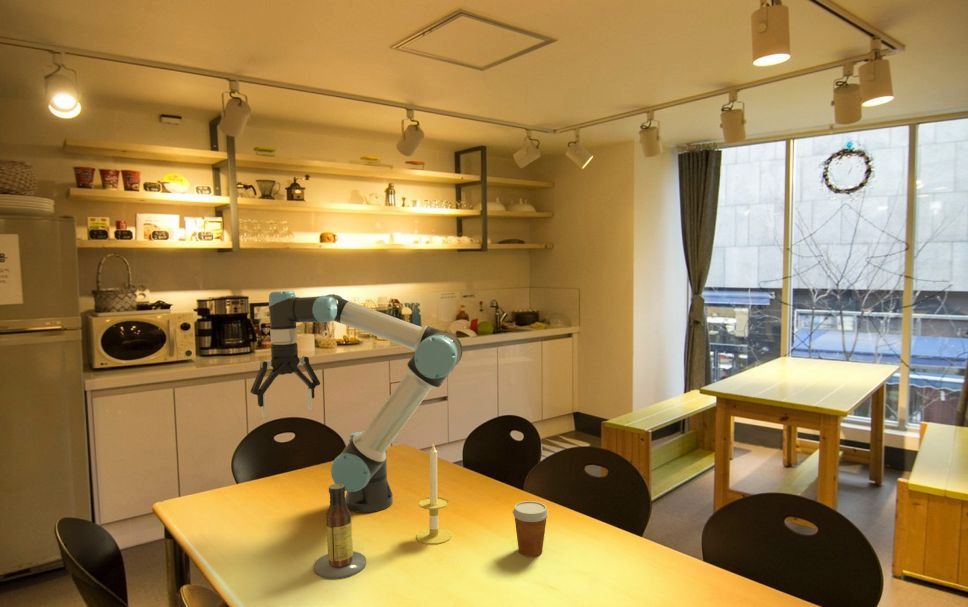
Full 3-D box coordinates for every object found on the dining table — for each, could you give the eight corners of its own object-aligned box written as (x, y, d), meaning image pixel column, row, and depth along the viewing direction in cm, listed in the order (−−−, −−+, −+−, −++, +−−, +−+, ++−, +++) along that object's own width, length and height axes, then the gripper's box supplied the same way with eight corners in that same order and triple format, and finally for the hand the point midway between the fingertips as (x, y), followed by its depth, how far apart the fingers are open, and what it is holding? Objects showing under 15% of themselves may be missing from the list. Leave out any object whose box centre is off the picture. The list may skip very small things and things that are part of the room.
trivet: (353, 549, 163) (353, 546, 163) (374, 568, 152) (374, 565, 152) (306, 563, 155) (305, 560, 155) (325, 584, 145) (325, 581, 145)
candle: (458, 533, 172) (457, 440, 171) (439, 547, 164) (438, 449, 162) (428, 526, 177) (428, 435, 176) (409, 539, 168) (408, 444, 167)
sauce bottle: (357, 558, 156) (356, 483, 154) (344, 570, 150) (343, 491, 149) (335, 555, 158) (334, 480, 157) (321, 566, 152) (320, 488, 151)
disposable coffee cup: (524, 562, 155) (524, 517, 154) (506, 547, 164) (506, 504, 163) (555, 554, 159) (555, 510, 159) (535, 540, 168) (536, 498, 167)
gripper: (319, 338, 191) (322, 404, 192) (237, 345, 176) (240, 418, 177) (328, 339, 185) (331, 408, 186) (244, 348, 170) (248, 422, 171)
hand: (287, 413), depth 181 cm, fingers open, 13 cm apart
